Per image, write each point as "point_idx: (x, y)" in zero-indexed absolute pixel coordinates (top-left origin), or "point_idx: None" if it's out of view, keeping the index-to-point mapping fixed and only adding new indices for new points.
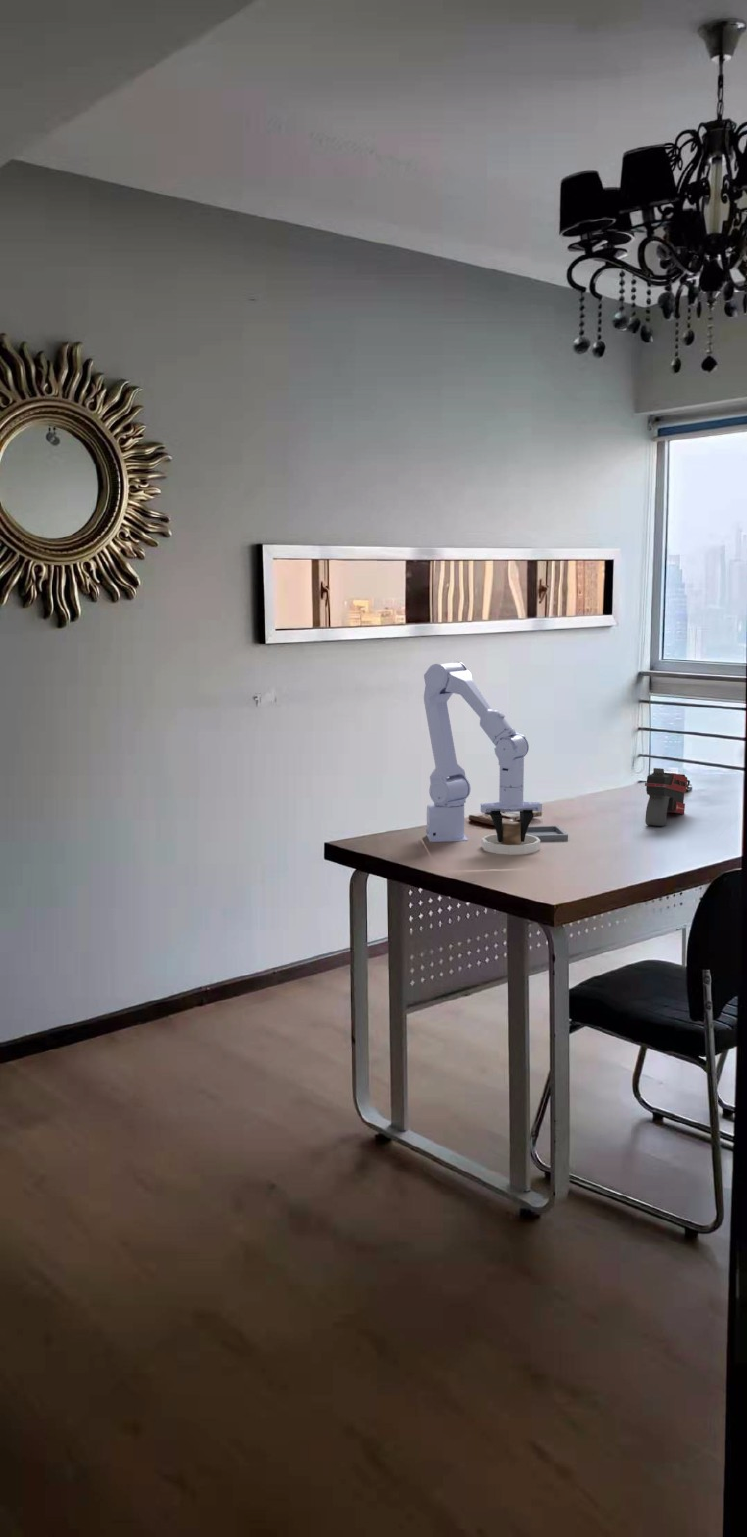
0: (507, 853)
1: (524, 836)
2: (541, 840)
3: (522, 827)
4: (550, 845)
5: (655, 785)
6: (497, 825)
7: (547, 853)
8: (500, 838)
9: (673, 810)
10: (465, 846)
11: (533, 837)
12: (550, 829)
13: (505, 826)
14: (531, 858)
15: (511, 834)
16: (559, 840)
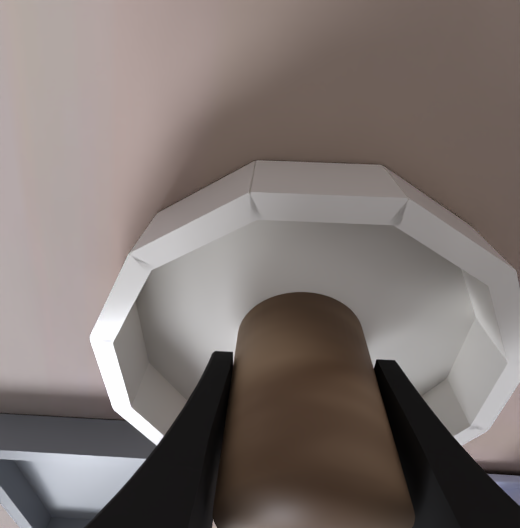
0: (395, 176)
1: (205, 378)
2: (106, 430)
3: (209, 457)
4: (63, 375)
5: None
6: (493, 492)
7: (69, 210)
8: (399, 380)
9: None
10: (516, 417)
11: (139, 409)
12: (68, 526)
13: (394, 474)
14: (208, 50)
15: (327, 383)
16: (18, 422)
